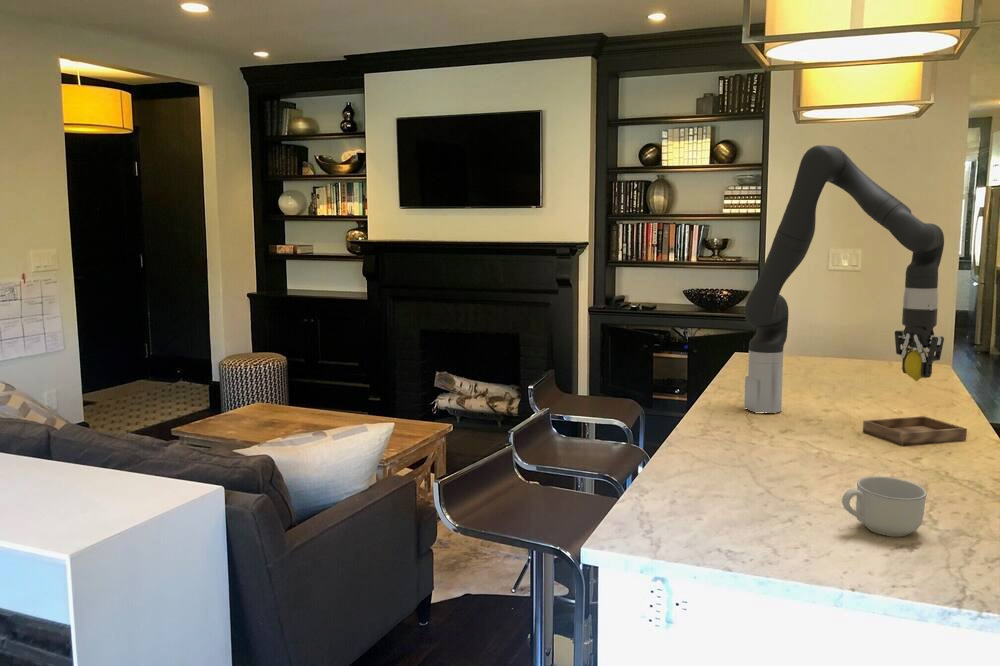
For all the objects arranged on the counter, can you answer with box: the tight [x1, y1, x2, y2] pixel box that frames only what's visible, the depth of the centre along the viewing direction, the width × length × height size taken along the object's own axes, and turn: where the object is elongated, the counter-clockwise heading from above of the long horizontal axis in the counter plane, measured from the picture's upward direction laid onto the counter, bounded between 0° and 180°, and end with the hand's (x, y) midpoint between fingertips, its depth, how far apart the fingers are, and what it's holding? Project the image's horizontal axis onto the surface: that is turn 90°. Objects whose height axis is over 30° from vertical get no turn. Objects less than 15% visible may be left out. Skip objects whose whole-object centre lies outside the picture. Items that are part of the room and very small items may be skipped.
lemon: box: [904, 349, 928, 382], centre depth 201 cm, size 6×6×8 cm
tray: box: [862, 415, 968, 447], centre depth 202 cm, size 18×14×3 cm
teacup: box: [841, 475, 928, 538], centre depth 140 cm, size 14×11×8 cm
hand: (916, 375), depth 201 cm, fingers closed on lemon, 5 cm apart
